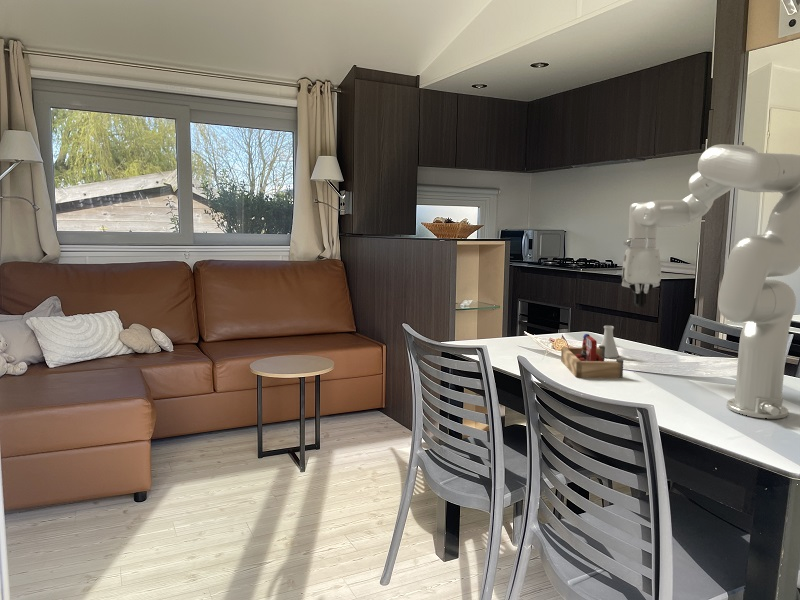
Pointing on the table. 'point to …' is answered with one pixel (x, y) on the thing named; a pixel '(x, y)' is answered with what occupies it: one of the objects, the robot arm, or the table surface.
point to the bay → (591, 364)
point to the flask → (609, 343)
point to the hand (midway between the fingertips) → (639, 306)
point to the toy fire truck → (589, 350)
